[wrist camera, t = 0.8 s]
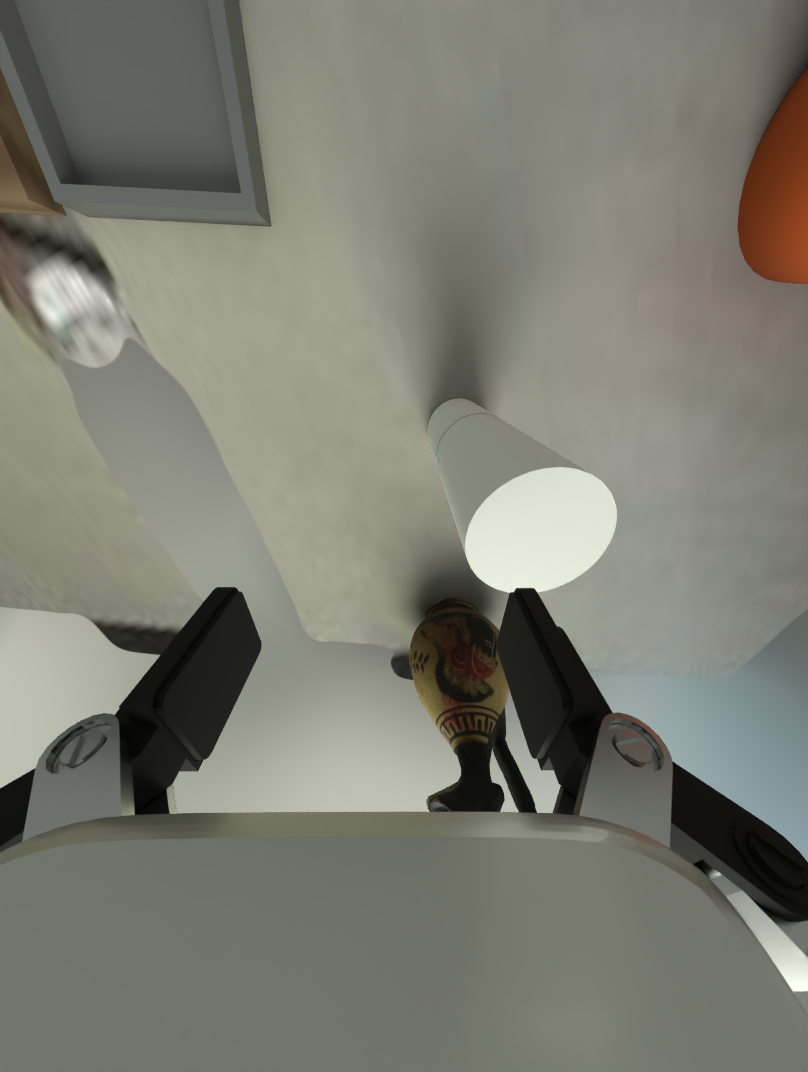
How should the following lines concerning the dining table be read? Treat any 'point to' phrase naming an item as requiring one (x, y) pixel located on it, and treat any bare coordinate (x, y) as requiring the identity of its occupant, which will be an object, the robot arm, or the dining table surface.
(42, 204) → the socket board
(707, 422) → the dining table surface
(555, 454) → the cylindrical container
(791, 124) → the flowerpot
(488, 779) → the ceramic jug
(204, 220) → the tray
